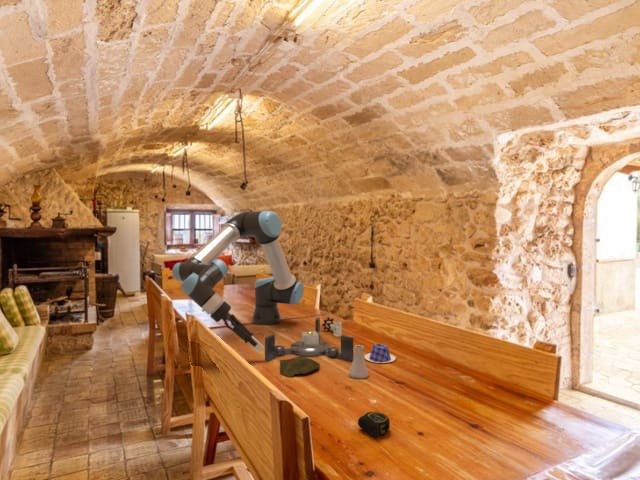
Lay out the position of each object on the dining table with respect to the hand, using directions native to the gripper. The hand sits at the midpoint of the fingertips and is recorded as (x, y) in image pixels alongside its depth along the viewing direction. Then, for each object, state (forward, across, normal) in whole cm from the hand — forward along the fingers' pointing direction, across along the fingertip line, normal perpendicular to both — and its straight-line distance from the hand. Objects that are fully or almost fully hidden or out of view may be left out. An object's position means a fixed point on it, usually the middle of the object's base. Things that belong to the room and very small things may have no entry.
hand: (262, 350), depth 152 cm
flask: (+26, +21, +20) cm, 38 cm away
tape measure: (+21, +58, +15) cm, 64 cm away
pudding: (+35, +6, +29) cm, 45 cm away
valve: (+27, -32, +22) cm, 47 cm away
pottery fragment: (+12, +11, +5) cm, 17 cm away
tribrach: (+18, -11, +13) cm, 24 cm away
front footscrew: (+6, -3, +1) cm, 7 cm away
